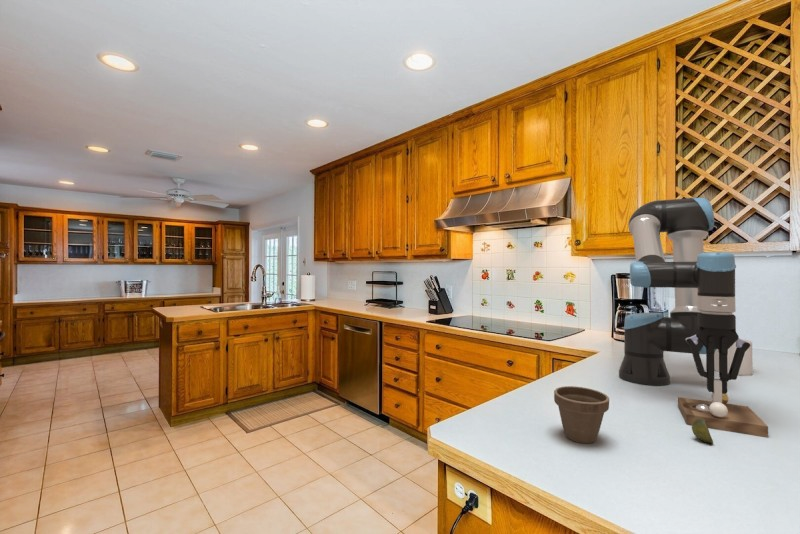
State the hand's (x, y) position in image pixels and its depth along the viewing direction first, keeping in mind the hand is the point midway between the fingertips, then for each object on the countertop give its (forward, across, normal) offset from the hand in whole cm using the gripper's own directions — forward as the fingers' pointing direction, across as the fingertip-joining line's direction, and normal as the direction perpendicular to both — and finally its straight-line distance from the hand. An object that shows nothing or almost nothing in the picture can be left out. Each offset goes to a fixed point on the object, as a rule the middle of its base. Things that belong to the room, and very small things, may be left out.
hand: (717, 405), depth 97 cm
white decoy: (-1, -1, -6) cm, 6 cm away
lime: (+4, -6, -17) cm, 18 cm away
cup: (+4, +16, +64) cm, 66 cm away
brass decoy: (-1, +2, +6) cm, 6 cm away
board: (+4, 0, 0) cm, 4 cm away
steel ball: (+2, -3, 0) cm, 3 cm away
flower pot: (+4, -30, -29) cm, 41 cm away
